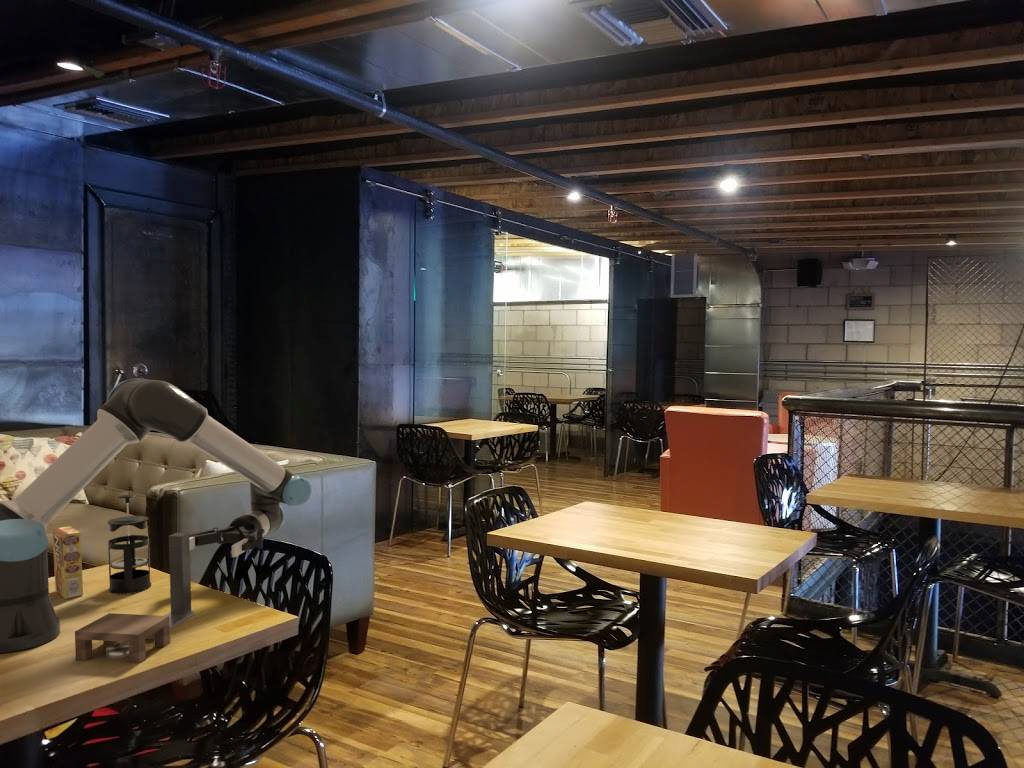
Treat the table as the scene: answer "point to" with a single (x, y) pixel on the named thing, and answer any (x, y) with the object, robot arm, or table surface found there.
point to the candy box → (67, 562)
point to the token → (117, 650)
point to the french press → (129, 555)
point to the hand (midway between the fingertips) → (205, 550)
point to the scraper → (179, 580)
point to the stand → (123, 634)
